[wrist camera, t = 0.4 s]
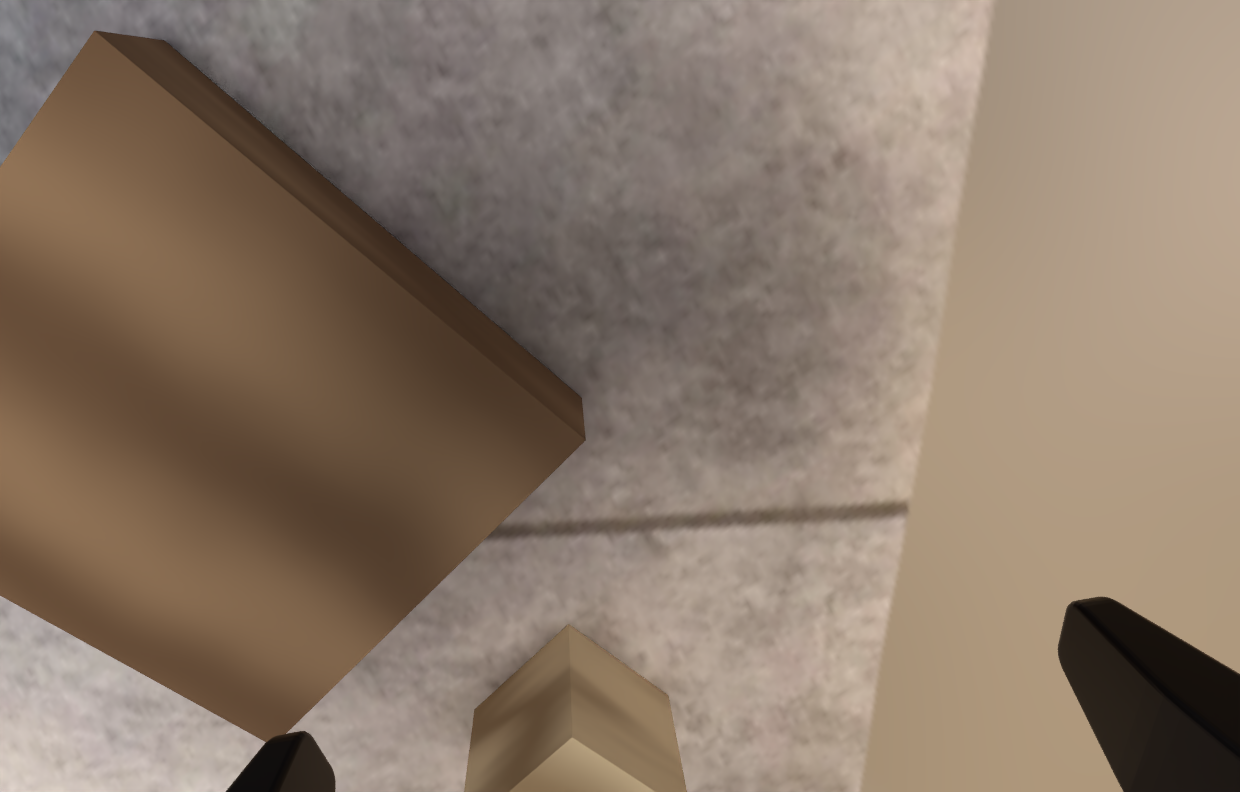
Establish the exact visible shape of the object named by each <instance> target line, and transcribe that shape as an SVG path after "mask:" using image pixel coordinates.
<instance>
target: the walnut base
mask: <svg viewBox="0 0 1240 792" xmlns="http://www.w3.org/2000/svg"><path fill="white" fill-rule="evenodd" d="M585 440H586V438H585V428H584V418H583V407H582V398H581V397H580V396H579V395H578V394H577V393H575V392H574V391H573V390H572V389H571V388H570V387H568V386H567V385H566V384H565V383H564V382H562V381H561V380H560V379H559V378H558V377H557V376H555V375H554V374H553V373H552V372H551V371H550V370H548V369H547V368H546V367H545V366H544V365H543V364H541V363H540V362H539V361H538V360H537V359H536V358H534V357H533V356H532V355H531V354H530V353H529V352H527V351H526V350H525V349H524V348H523V347H522V346H520V345H519V344H518V343H517V342H516V341H515V340H513V339H512V338H511V337H510V336H509V335H508V334H506V333H505V332H504V331H503V330H502V329H501V328H499V327H498V326H497V325H496V324H495V323H494V322H492V321H491V320H490V319H489V318H488V317H487V316H485V315H484V314H483V313H482V312H481V311H480V310H478V309H477V308H476V307H475V306H474V305H473V304H471V303H470V302H469V301H468V300H467V299H466V298H464V297H463V296H462V295H461V294H460V293H459V292H457V291H456V290H455V289H454V288H453V287H452V286H450V285H449V284H448V283H447V282H446V281H445V280H443V279H442V278H441V277H440V276H439V275H438V274H436V273H435V272H434V271H433V270H432V269H431V268H429V267H428V266H427V265H426V264H425V263H424V262H422V261H421V260H420V259H419V258H418V257H417V256H415V255H414V254H413V253H412V252H411V251H410V250H408V249H407V248H406V247H405V246H404V245H403V244H401V243H400V242H399V241H398V240H397V239H396V238H394V237H393V236H392V235H391V234H390V233H388V232H387V231H386V230H385V229H384V228H383V227H381V226H380V225H379V224H378V223H377V222H376V221H374V220H373V219H372V218H371V217H370V216H369V215H367V214H366V213H365V212H364V211H363V210H362V209H360V208H359V207H358V206H357V205H356V204H355V203H353V202H352V201H351V200H350V199H349V198H348V197H346V196H345V195H344V194H343V193H342V192H341V191H339V190H338V189H337V188H336V187H335V186H334V185H332V184H331V183H330V182H329V181H328V180H327V179H325V178H324V177H323V176H322V175H321V174H320V173H318V172H317V171H316V170H315V169H314V168H313V167H311V166H310V165H309V164H308V163H307V162H306V161H304V160H303V159H302V158H301V157H300V156H299V155H297V154H296V153H295V152H294V151H293V150H292V149H290V148H289V147H288V146H287V145H286V144H285V143H283V142H282V141H281V140H280V139H279V138H278V137H276V136H275V135H274V134H273V133H272V132H271V131H269V130H268V129H267V128H266V127H265V126H264V125H262V124H261V123H260V122H259V121H258V120H257V119H255V118H254V117H253V116H252V115H251V114H250V113H248V112H247V111H246V110H245V109H244V108H243V107H241V106H240V105H239V104H238V103H237V102H236V101H234V100H233V99H232V98H231V97H230V96H229V95H227V94H226V93H225V92H224V91H223V90H222V89H220V88H219V87H218V86H217V85H216V84H214V83H213V82H212V81H211V80H210V79H209V78H207V77H206V76H205V75H204V74H203V73H202V72H200V71H199V70H198V69H197V68H196V67H195V66H193V65H192V64H191V63H190V62H189V61H188V60H186V59H185V58H184V57H183V56H182V55H181V54H179V53H178V52H177V51H176V50H175V49H174V48H172V47H171V46H170V45H169V44H168V43H167V42H165V41H164V40H157V39H150V38H143V37H136V36H129V35H122V34H115V33H108V32H101V31H94V32H93V33H92V35H91V36H90V38H89V39H88V41H87V42H86V44H85V45H84V46H83V48H82V49H81V51H80V52H79V54H78V55H77V57H76V58H75V59H74V61H73V62H72V64H71V65H70V67H69V68H68V70H67V71H66V73H65V74H64V75H63V77H62V78H61V80H60V81H59V83H58V84H57V86H56V87H55V88H54V90H53V91H52V93H51V94H50V96H49V97H48V99H47V100H46V102H45V103H44V104H43V106H42V107H41V109H40V110H39V112H38V113H37V115H36V116H35V117H34V119H33V120H32V122H31V123H30V125H29V126H28V128H27V129H26V131H25V132H24V133H23V135H22V136H21V138H20V139H19V141H18V142H17V144H16V145H15V146H14V148H13V149H12V151H11V152H10V154H9V155H8V157H7V158H6V160H5V161H4V162H3V164H2V165H1V167H0V596H2V597H4V598H6V599H8V600H9V601H11V602H13V603H15V604H17V605H18V606H20V607H22V608H24V609H26V610H28V611H29V612H31V613H33V614H35V615H37V616H38V617H40V618H42V619H44V620H46V621H47V622H49V623H51V624H53V625H55V626H57V627H58V628H60V629H62V630H64V631H66V632H67V633H69V634H71V635H73V636H75V637H76V638H78V639H80V640H82V641H84V642H86V643H87V644H89V645H91V646H93V647H95V648H96V649H98V650H100V651H102V652H104V653H105V654H107V655H109V656H111V657H113V658H115V659H116V660H118V661H120V662H122V663H124V664H125V665H127V666H129V667H131V668H133V669H135V670H136V671H138V672H140V673H142V674H144V675H145V676H147V677H149V678H151V679H153V680H154V681H156V682H158V683H160V684H162V685H164V686H165V687H167V688H169V689H171V690H173V691H174V692H176V693H178V694H180V695H182V696H183V697H185V698H187V699H189V700H191V701H193V702H194V703H196V704H198V705H200V706H202V707H203V708H205V709H207V710H209V711H211V712H212V713H214V714H216V715H218V716H220V717H222V718H223V719H225V720H227V721H229V722H231V723H232V724H234V725H236V726H238V727H240V728H241V729H243V730H245V731H247V732H249V733H251V734H252V735H254V736H256V737H258V738H260V739H261V740H263V741H265V742H267V741H269V740H270V739H271V738H273V737H275V736H277V735H282V734H286V733H287V732H288V731H289V730H290V729H291V728H292V727H293V726H294V725H295V724H296V723H297V722H298V721H299V720H300V719H301V718H302V717H303V716H304V715H305V714H306V713H307V712H309V711H310V710H311V709H312V708H313V707H314V706H315V705H316V704H317V703H318V702H319V701H320V700H321V699H322V698H323V697H324V696H325V695H326V694H327V693H328V692H329V691H330V690H331V689H332V688H333V687H334V686H335V685H336V684H337V683H338V682H339V681H340V680H341V679H342V678H343V677H344V676H345V675H346V674H347V673H348V672H349V671H350V670H351V669H352V668H353V667H354V666H355V665H357V664H358V663H359V662H360V661H361V660H362V659H363V658H364V657H365V656H366V655H367V654H368V653H369V652H370V651H371V650H372V649H373V648H374V647H375V646H376V645H377V644H378V643H379V642H380V641H381V640H382V639H383V638H384V637H385V636H386V635H387V634H388V633H389V632H390V631H391V630H392V629H393V628H394V627H395V626H396V625H397V624H398V623H399V622H400V621H401V620H402V619H403V618H405V617H406V616H407V615H408V614H409V613H410V612H411V611H412V610H413V609H414V608H415V607H416V606H417V605H418V604H419V603H420V602H421V601H422V600H423V599H424V598H425V597H426V596H427V595H428V594H429V593H430V592H431V591H432V590H433V589H434V588H435V587H436V586H437V585H438V584H439V583H440V582H441V581H442V580H443V579H444V578H445V577H446V576H447V575H448V574H449V573H450V572H451V571H453V570H454V569H455V568H456V567H457V566H458V565H459V564H460V563H461V562H462V561H463V560H464V559H465V558H466V557H467V556H468V555H469V554H470V553H471V552H472V551H473V550H474V549H475V548H476V547H477V546H478V545H479V544H480V543H481V542H482V541H483V540H484V539H485V538H486V537H487V536H488V535H489V534H490V533H491V532H492V531H493V530H494V529H495V528H496V527H497V526H498V525H499V524H501V523H502V522H503V521H504V520H505V519H506V518H507V517H508V516H509V515H510V514H511V513H512V512H513V511H514V510H515V509H516V508H517V507H518V506H519V505H520V504H521V503H522V502H523V501H524V500H525V499H526V498H527V497H528V496H529V495H530V494H531V493H532V492H533V491H534V490H535V489H536V488H537V487H538V486H539V485H540V484H541V483H542V482H543V481H544V480H545V479H546V478H547V477H549V476H550V475H551V474H552V473H553V472H554V471H555V470H556V469H557V468H558V467H559V466H560V465H561V464H562V463H563V462H564V461H565V460H566V459H567V458H568V457H569V456H570V455H571V454H572V453H573V452H574V451H575V450H576V449H577V448H578V447H579V446H580V445H581V444H582V443H583V442H584V441H585Z"/></svg>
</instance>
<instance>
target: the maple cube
mask: <svg viewBox="0 0 1240 792" xmlns="http://www.w3.org/2000/svg"><path fill="white" fill-rule="evenodd" d="M464 792H687V790H686V785H685V780H684V775H683V770H682V764H681V759H680V754H679V749H678V744H677V738H676V733H675V728H674V723H673V718H672V712H671V707H670V702H669V697H668V695H667V694H665V693H664V692H663V691H661V690H660V689H658V688H657V687H656V686H654V685H653V684H651V683H650V682H649V681H647V680H646V679H645V678H643V677H642V676H640V675H639V674H638V673H636V672H635V671H633V670H632V669H631V668H629V667H628V666H626V665H625V664H624V663H622V662H621V661H619V660H618V659H617V658H615V657H614V656H612V655H611V654H610V653H608V652H607V651H606V650H604V649H603V648H601V647H600V646H599V645H597V644H596V643H594V642H593V641H592V640H590V639H589V638H587V637H586V636H585V635H583V634H582V633H580V632H579V631H578V630H576V629H575V628H573V627H572V626H571V625H569V624H568V625H567V626H566V627H565V628H564V629H563V630H562V631H561V632H559V633H558V634H557V635H556V636H555V637H554V638H553V639H552V640H551V641H550V642H548V643H547V644H546V645H545V646H544V647H543V648H542V649H541V650H540V651H539V652H537V653H536V654H535V655H534V656H533V657H532V658H531V659H530V660H529V661H528V662H526V663H525V664H524V665H523V666H522V667H521V668H520V669H519V670H518V671H517V672H515V673H514V674H513V675H512V676H511V677H510V678H509V679H508V680H507V681H506V682H504V683H503V684H502V685H501V686H500V687H499V688H498V689H497V690H496V691H495V692H493V693H492V694H491V695H490V696H489V697H488V698H487V699H486V700H485V701H484V702H482V703H481V704H480V705H479V706H478V707H477V708H476V709H475V710H474V718H473V726H472V734H471V742H470V750H469V758H468V765H467V773H466V781H465V789H464Z"/></svg>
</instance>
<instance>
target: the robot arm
mask: <svg viewBox="0 0 1240 792" xmlns="http://www.w3.org/2000/svg"><path fill="white" fill-rule="evenodd" d="M1058 656H1059V660H1060V663H1061V666H1062V669H1063V671H1064V672H1065V675H1066V677H1067V679H1068V681H1069V683H1070V685H1071V687H1072V689H1073V691H1074V693H1075V695H1076V697H1077V699H1078V701H1079V703H1080V705H1081V707H1082V709H1083V711H1084V713H1085V715H1086V717H1087V720H1088V721H1089V724H1090V726H1091V728H1092V729H1093V732H1094V734H1095V736H1096V738H1097V740H1098V742H1099V744H1100V746H1101V748H1102V750H1103V752H1104V754H1105V756H1106V758H1107V760H1108V762H1109V764H1110V766H1111V768H1112V770H1113V772H1114V774H1115V776H1116V778H1117V780H1118V782H1119V784H1120V786H1121V788H1122V789H1123V792H1240V674H1239V673H1237V672H1236V671H1234V670H1232V669H1231V668H1229V667H1227V666H1225V665H1224V664H1222V663H1220V662H1219V661H1217V660H1215V659H1214V658H1212V657H1210V656H1209V655H1207V654H1205V653H1204V652H1202V651H1200V650H1198V649H1197V648H1195V647H1193V646H1192V645H1190V644H1188V643H1187V642H1185V641H1183V640H1182V639H1180V638H1178V637H1176V636H1175V635H1173V634H1171V633H1169V632H1168V631H1166V630H1165V629H1163V628H1161V627H1160V626H1158V625H1156V624H1155V623H1153V622H1151V621H1149V620H1147V619H1146V618H1144V617H1142V616H1141V615H1139V614H1137V613H1136V612H1134V611H1132V610H1131V609H1129V608H1127V607H1126V606H1124V605H1122V604H1121V603H1119V602H1117V601H1115V600H1113V599H1111V598H1108V597H1095V598H1089V599H1083V600H1078V601H1073V602H1071V604H1069V605H1068V607H1067V609H1066V613H1065V617H1064V622H1063V626H1062V631H1061V635H1060V640H1059V644H1058ZM226 792H335V776H334V772H333V769H332V767H331V765H330V764H329V762H328V761H327V759H326V757H325V756H324V754H323V753H322V751H321V750H320V748H319V746H318V745H317V743H316V742H315V740H314V739H313V737H312V736H311V735H310V734H309V733H307V732H305V731H300V732H294V733H288V734H282V735H277V736H275V737H273V738H271V739H270V740H269V741H267V742H266V743H265V744H264V745H263V747H262V748H261V749H260V750H259V751H258V753H257V754H256V755H255V756H254V758H253V759H252V760H251V761H250V763H249V764H248V765H247V766H246V767H245V769H244V770H243V771H242V772H241V774H240V775H239V776H238V777H237V778H236V780H235V781H234V782H233V783H232V785H231V786H230V787H229V788H228V790H227V791H226Z"/></svg>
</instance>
